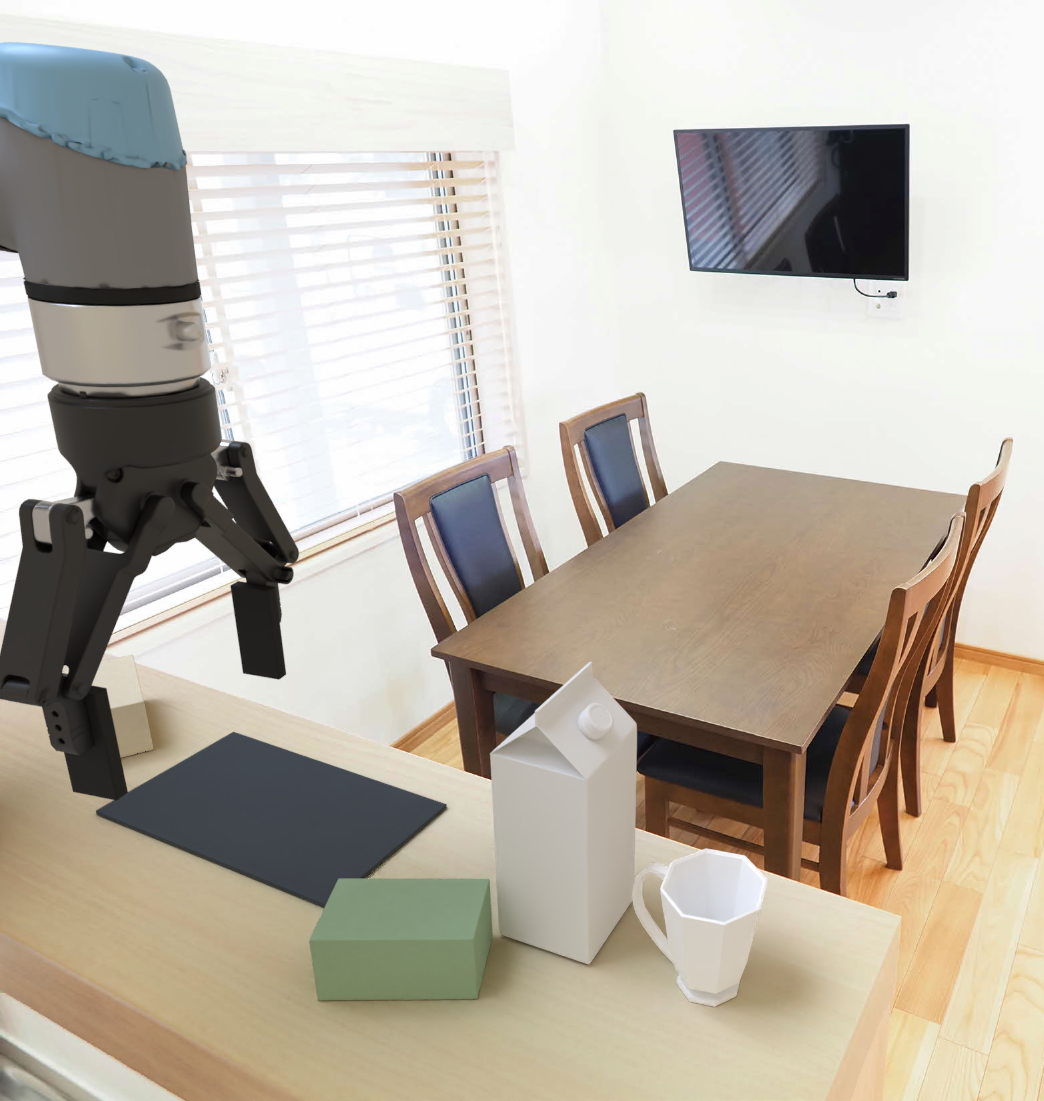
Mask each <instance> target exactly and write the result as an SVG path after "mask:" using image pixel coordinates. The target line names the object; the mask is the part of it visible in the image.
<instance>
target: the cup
mask: <svg viewBox="0 0 1044 1101" xmlns="http://www.w3.org/2000/svg"><path fill="white" fill-rule="evenodd" d="M647 874H654V876H656V877H658V878H659V879H661V881H662V883H661V886H660V888H659V894H660V902H661V908H662V912H663V919H664V926H665V933H666V935H665V934H664V933H663V932H662V930H661V929H660V927H659V926H658V924H657V923H656V922H655V920H654V919H653V917H652V916H651V914H650V912H649V910H648V909H647V907H646V905H645V901H644V897H643V887H644V881H645V879H646V875H647ZM635 875H636V876H635V877H634V884H633V890H632V905H633V910H634V913H635V915H636V917H637V918H638V920H639V922H640V924H641V926H642V927H643V929H644V930H645V931H646V933H647V934H648V935H649V938H651V940H652V941H653V942H654V944H655V945H656V947H658V949H659V950H660V951H661V952H662V953H663V955H664V956H665V957H666V958H667V959H668V960H669V961H670V962H671V963H672V965H673V966H674V969H675V972H676V973H677V974H678V975H677V977H676V986H678V988H679V989H680V991H681V992H682V993H683V995H684V996H685V997H686V999H687V1000H688V1002H691V1003H693V1004H694V1003H695V1004H698V1005H699V1004H700V1005H705V1006H710V1007H714V1008H715V1007H717V1006H719V1005H722V1004H723V1003H725V1002H727V1001H730V1000H731V999H733V998H735V997H737V995H738V991H739V987H740V983H741V979H742V976H743V974H744V971H745V969H746V966H747V964H748V960H749V957H750V952H751V949H752V945H753V941H754V937H755V933H756V929H757V927H758V926H757V925H758V921H759V919H760V914H761V910H762V906H763V903H764V898H765V894H766V892H767V888H768V882H769V878H767V877H766V876H765V875H764V873H763V872H762V871H760V870H759V868H758V867H757V866H756V865H755V864H754V863H753V862H752V861H751V860H750V859H749V858H748V857H747V855H744V854H740V853H734V852H728V851H724V850H723V851H722V850H717V849H711V848H703V849H700V850H698V851H695V852H692V853H689V854H688V855H685V856H681V857H680V858H676V859H674V860H672V861H670V863H669V865H666V864H663V863H661V862H651V863H649V864H648V865H647V866H645V867H643V868H642V869H641V870H640V871H638V873H637V874H635Z"/></svg>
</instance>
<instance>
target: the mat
mask: <svg viewBox="0 0 1044 1101" xmlns="http://www.w3.org/2000/svg"><path fill="white" fill-rule="evenodd" d="M447 808H448V807H447V803H444V802H441V801H439V800H435V799H432V798H430V797H427V796H424V795H420V794H418V793H414V792H413V791H409V790H406V789H403V788H401V787H397V786H394V785H391V784H388V783H386V782H383V781H381V780H376V779H374V778H370V777H367V776H365V775H362V774H359V773H356V772H353V771H351V770H347V769H345V768H341V767H339V766H335V765H332V764H330V763H327V762H323V761H321V760H318V759H315V758H312V757H310V756H306V755H303V754H301V753H298V752H294V751H291V750H289V749H285V748H284V747H280V746H278V745H274V744H272V743H268V742H265V741H262V740H259V739H256V738H253V737H250V736H248V735H245V734H241V733H239V732H235V731H232V732H230V733H228V734H227V735H225V736H223V737H221V738H219V739H218V740H216V741H215V742H213V743H211V744H210V745H208V746H205V747H204V748H202V749H201V750H198V751H197V752H195V753H193V754H192V755H190V756H188V757H187V758H185V759H183V760H181V761H180V762H178V763H176V764H175V765H172V766H171V767H169V768H168V769H165V770H164V771H162V772H160V773H158V774H157V775H155V776H154V777H151V778H150V779H148V780H146V781H145V782H143V783H141V784H140V785H138V786H136V787H134V788H133V789H131V790H128V793H126V794H125V795H124V796H122V797H121V798H120V799H118V800H117V801H116V800H112V801H110V802H108V803H107V804H104V805H103V806H102V807H101V806H100V807H99V808H98V809H96V810H95V815H96V816H99V817H102V818H104V819H106V820H109V821H111V822H113V823H116V824H118V825H120V826H124V827H126V828H128V829H131V830H133V831H136V832H138V833H139V834H143V835H146V836H148V837H150V838H152V839H155V840H157V841H160V842H163V843H165V844H167V845H170V846H172V847H175V848H177V849H179V850H182V851H184V852H187V853H189V854H191V855H194V856H196V857H199V858H202V859H204V860H206V861H209V862H211V863H214V864H216V865H219V866H221V867H224V868H225V869H228V870H230V871H233V872H235V873H238V874H240V875H243V876H246V877H248V878H250V879H253V880H255V881H258V882H260V883H262V884H265V885H267V886H270V887H272V888H275V889H277V890H280V891H282V892H285V893H287V894H289V895H292V896H294V897H297V898H299V899H302V900H304V901H306V902H309V903H312V904H314V905H316V906H318V907H321V908H323V909H324V908H325V906H326V904H327V902H328V899H329V897H330V895H331V893H332V891H333V889H334V887H335V885H336V883H337V881H338V879H366V878H367V877H368V876H369V875H371V874H372V873H373V872H374V871H375V870H376V869H377V868H378V867H380V866H381V865H382V864H383V863H384V862H385V861H387V860H388V859H389V858H391V857H392V855H394V854H395V853H396V852H397V851H398V850H399V849H401V848H402V847H403V846H404V845H405V844H407V843H408V842H409V841H410V840H411V839H412V838H413V837H415V836H416V835H417V834H418V833H420V832H421V830H423V829H424V828H425V827H426V826H428V825H429V824H430V823H431V822H432V821H433V820H435V818H437V817H438V816H439V815H440V814H442V813H443V812H444V811H445V810H446V809H447Z"/></svg>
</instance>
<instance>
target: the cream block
mask: <svg viewBox="0 0 1044 1101" xmlns="http://www.w3.org/2000/svg"><path fill="white" fill-rule="evenodd" d="M68 672H69V668H68V667H63V671H62V673H66V674H68ZM92 686H98V687H103V688H106V689H107V693H108V698H109V703H110V708H111V713H112V718H113V722H114V727H115V732H116V737H117V742H118V747H119V752H120V756H121V759H122V758H126V757H129V756H133V755H138V754H142V753H145V751H146V752H149V751H153V750H154V744H153V737H152V733H151V728H150V724H149V719H148V714H147V709H146V704H145V699H144V694H143V691H142V686H141V683H140V678H139V674H138V670H137V666H136V662H135V656H134V654H129V655H123V656H119V657H114V658H109V659H105V660H104V659H102V660H101V663H100V665H99V668H98V670H97V673H96V675H95V678H94V680H93V683H92ZM137 753H138V754H137Z"/></svg>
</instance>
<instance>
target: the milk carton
mask: <svg viewBox="0 0 1044 1101" xmlns="http://www.w3.org/2000/svg"><path fill="white" fill-rule="evenodd" d="M593 667H594V666H593V661H589V662H588V663H586V664H585V665H584V666H583V667H581V669H579V671H577V672H576V673H575V674H574V675H573V676H572V677H570V679H568V680H567V681H566V682H565V683H564V684H562V686H561V687H560V688H558V689H557V690H556V691H555V692H554V693H552V694H551V695H550V697H549V698H547V699H546V700H545V701H544V702H542V704H541V705H540V706H538V708H536V709H535V710H534V713H533V714H531V715H530V716H529V717H528V719H526V720H525V721H524V722H523V723H522V724H521V725H519V726H518V728H516V729H515V730H514V731H513V732H512V733H511V734H509V735H508V736H507V737H506V738H505V739H504V740H503V741H502V742H501V743H500V744H498V746H496V747H495V748H494V749H493V750H492V751H491V752H489V758H490V760H489V761H490V776H491V778H490V779H491V798H492V799H491V800H492V816H493V835H494V836H493V838H494V857H495V858H494V859H495V861H494V862H495V877H496V878H495V879H496V880H495V881H496V898H497V899H496V900H497V918H498V919H497V920H498V933H499V935H501V936H504V937H507V938H510V939H512V940H515V941H519V942H521V943H524V944H527V945H530V946H533V947H536V948H539V949H540V950H541V949H542V950H544V951H547V952H551V953H553V954H556V955H559V956H562V957H565V958H568V959H571V960H574V961H577V962H580V963H583V964H586V965H590V964H591V963H592V962H593V960H594V959H595V957H596V956H597V954H598V953H599V951H600V950H601V948H602V947H603V945H604V944H605V942H606V941H607V939H608V938H609V936H610V935H611V933H612V932H613V930H614V929H615V927H616V926H617V925H618V923H619V921H620V920H621V919H622V917H623V915H624V914H625V912H626V911H627V909H628V908H629V906H630V905H631V904H632V903H633V901H632V890H633V884H634V881H635V878H636V876H635V875H636V874H635V871H636V867H635V866H636V821H637V820H636V817H637V812H636V809H637V764H638V763H637V759H638V758H637V757H638V755H637V754H638V725H637V721H635V720H634V718H632V716H631V715H629V713H628V712H627V711H626V710H625V709H624V708H623V706H621V705H620V703H618V700H617V701H616V699H615V698H614V697H613V696H612V695H611V694H610V693H609V692H608V691H607V689H606V688H605V687H604V686H603V685H602V684H601V683H600V682H599V680H598V679H596V677H595V676H594V675H593V673H594V672H593V670H594V669H593Z"/></svg>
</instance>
